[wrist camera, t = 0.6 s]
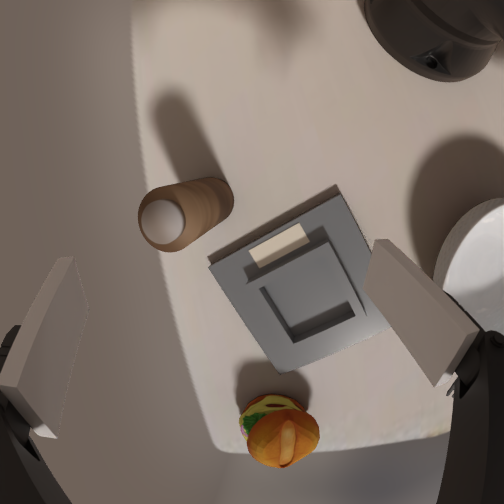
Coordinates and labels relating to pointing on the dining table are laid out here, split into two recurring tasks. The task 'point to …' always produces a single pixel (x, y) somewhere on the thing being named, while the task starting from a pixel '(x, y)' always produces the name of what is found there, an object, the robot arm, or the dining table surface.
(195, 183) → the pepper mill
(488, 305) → the cereal bowl
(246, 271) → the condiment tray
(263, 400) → the cheeseburger
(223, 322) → the dining table surface
